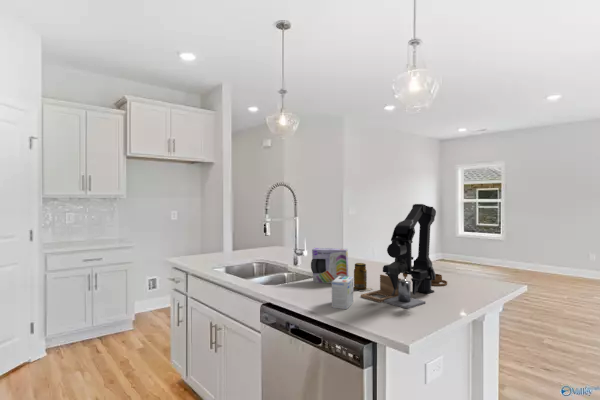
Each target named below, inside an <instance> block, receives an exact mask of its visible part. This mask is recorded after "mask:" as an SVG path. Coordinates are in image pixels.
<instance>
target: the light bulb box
mask: <svg viewBox="0 0 600 400" xmlns="http://www.w3.org/2000/svg"><path fill="white" fill-rule="evenodd" d="M353 287H354V276H349V277H346V276H338V277H337V278H336V279H335V280H333V281H332V283H331V308H334V309H342V310H348V309H349V308H350V307H351V305H352V304H353V303H354V289H353Z"/></svg>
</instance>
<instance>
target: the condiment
mask: <svg viewBox="0 0 600 400" xmlns="http://www.w3.org/2000/svg"><path fill="white" fill-rule="evenodd" d="M366 266H367V264H366V263H364V262H356V263H354V270H353V290H356V291H358V292H367V291H373V288H370V287H367V284H368V283H367V277H368V276H367V273H368V272H367V267H366Z"/></svg>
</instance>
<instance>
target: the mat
mask: <svg viewBox="0 0 600 400" xmlns="http://www.w3.org/2000/svg"><path fill="white" fill-rule="evenodd" d="M383 303H386V304H389V305H393V306H395V307H400V308H403V309H407V310H409V309H412V308H413V309H414V308H417V307H419V306H422V305H425V304H426V301H425V300H421V299H417V298H413V297H411V302H407V303H404V302H399V301H398V296H397V297H393V298H390V299H386V300H384V302H383Z"/></svg>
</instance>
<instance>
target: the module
mask: <svg viewBox="0 0 600 400" xmlns="http://www.w3.org/2000/svg"><path fill="white" fill-rule="evenodd" d="M400 279H401V280H400V281H398V301H399V302H404V303H407V302H411V298H412V296H411V293H412V291H411V289H412V286H411V285H412V284H411V282H412V281H410V280H408V279H407V278H406V279H405V278H400Z"/></svg>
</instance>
